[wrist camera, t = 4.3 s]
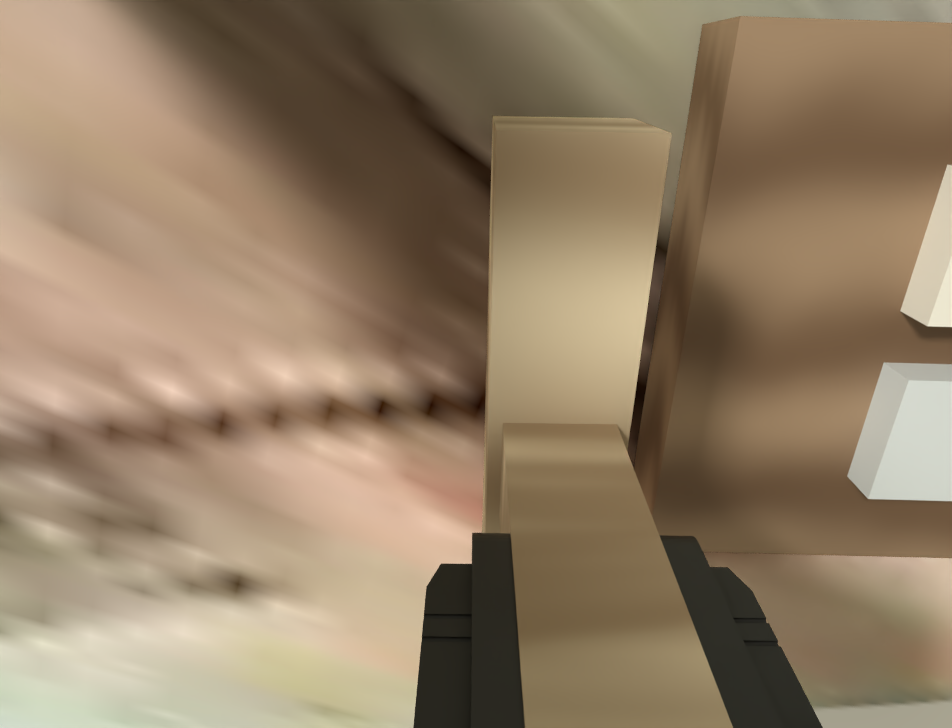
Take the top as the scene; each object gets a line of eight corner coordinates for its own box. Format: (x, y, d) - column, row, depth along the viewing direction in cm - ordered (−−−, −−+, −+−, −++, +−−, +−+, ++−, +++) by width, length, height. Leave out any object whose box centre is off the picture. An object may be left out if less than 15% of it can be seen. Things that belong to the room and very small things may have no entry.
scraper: (492, 116, 14) (699, 861, 1) (632, 118, 14) (2578, 877, 1) (480, 601, 20) (488, 1575, 7) (577, 602, 20) (759, 1574, 7)
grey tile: (883, 362, 23) (908, 380, 22) (1018, 366, 24) (1052, 384, 22) (847, 476, 26) (868, 498, 24) (971, 479, 26) (999, 502, 24)
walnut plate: (702, 24, 22) (740, 16, 19) (1161, 39, 22) (1275, 33, 19) (628, 500, 30) (646, 550, 27) (963, 509, 30) (1019, 559, 27)
